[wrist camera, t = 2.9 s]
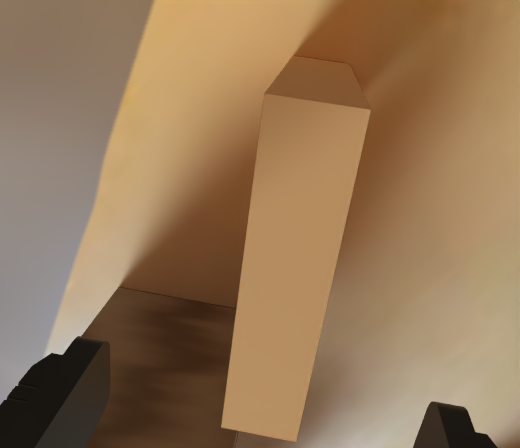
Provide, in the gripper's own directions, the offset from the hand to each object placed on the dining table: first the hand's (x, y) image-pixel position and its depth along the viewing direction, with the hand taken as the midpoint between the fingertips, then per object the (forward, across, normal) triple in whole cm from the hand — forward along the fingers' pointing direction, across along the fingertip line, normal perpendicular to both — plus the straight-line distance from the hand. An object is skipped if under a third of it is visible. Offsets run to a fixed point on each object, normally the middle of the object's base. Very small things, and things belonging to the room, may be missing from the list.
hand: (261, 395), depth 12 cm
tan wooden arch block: (+18, 0, 0) cm, 18 cm away
